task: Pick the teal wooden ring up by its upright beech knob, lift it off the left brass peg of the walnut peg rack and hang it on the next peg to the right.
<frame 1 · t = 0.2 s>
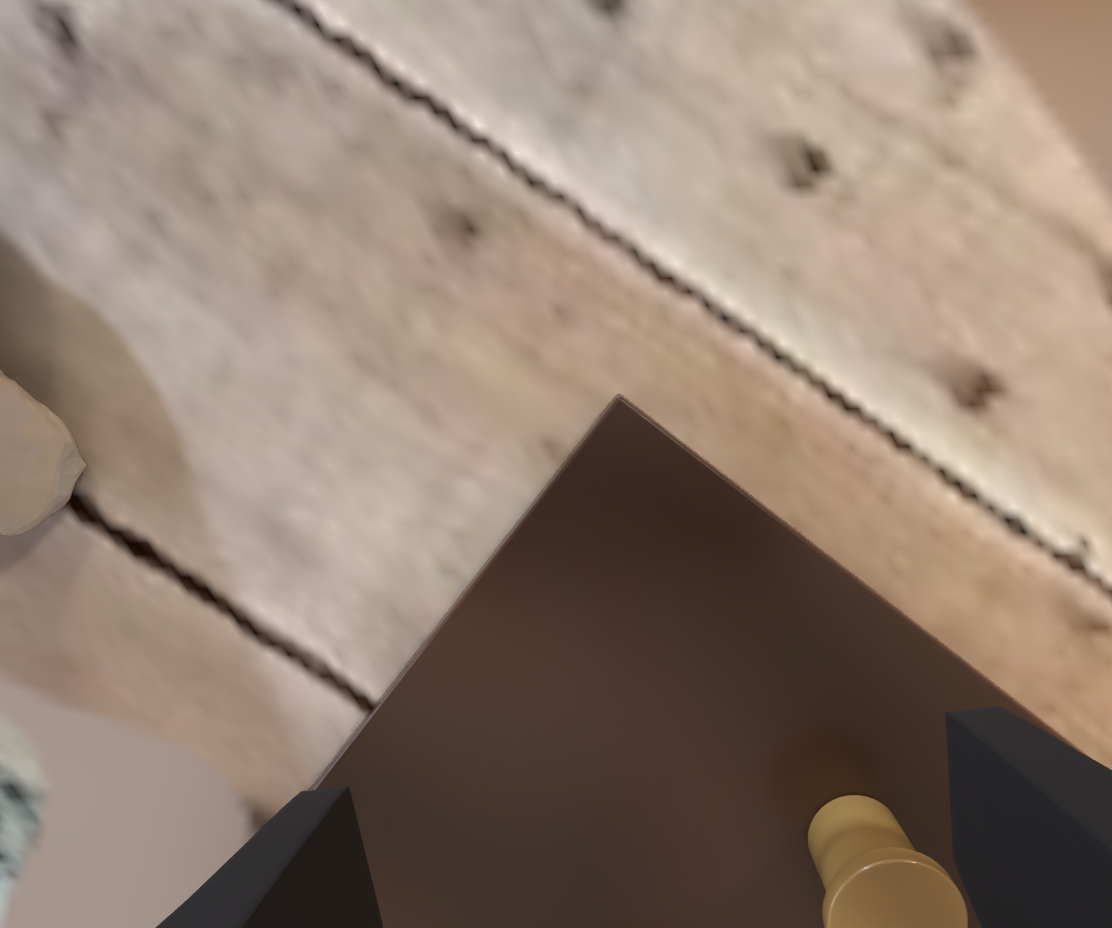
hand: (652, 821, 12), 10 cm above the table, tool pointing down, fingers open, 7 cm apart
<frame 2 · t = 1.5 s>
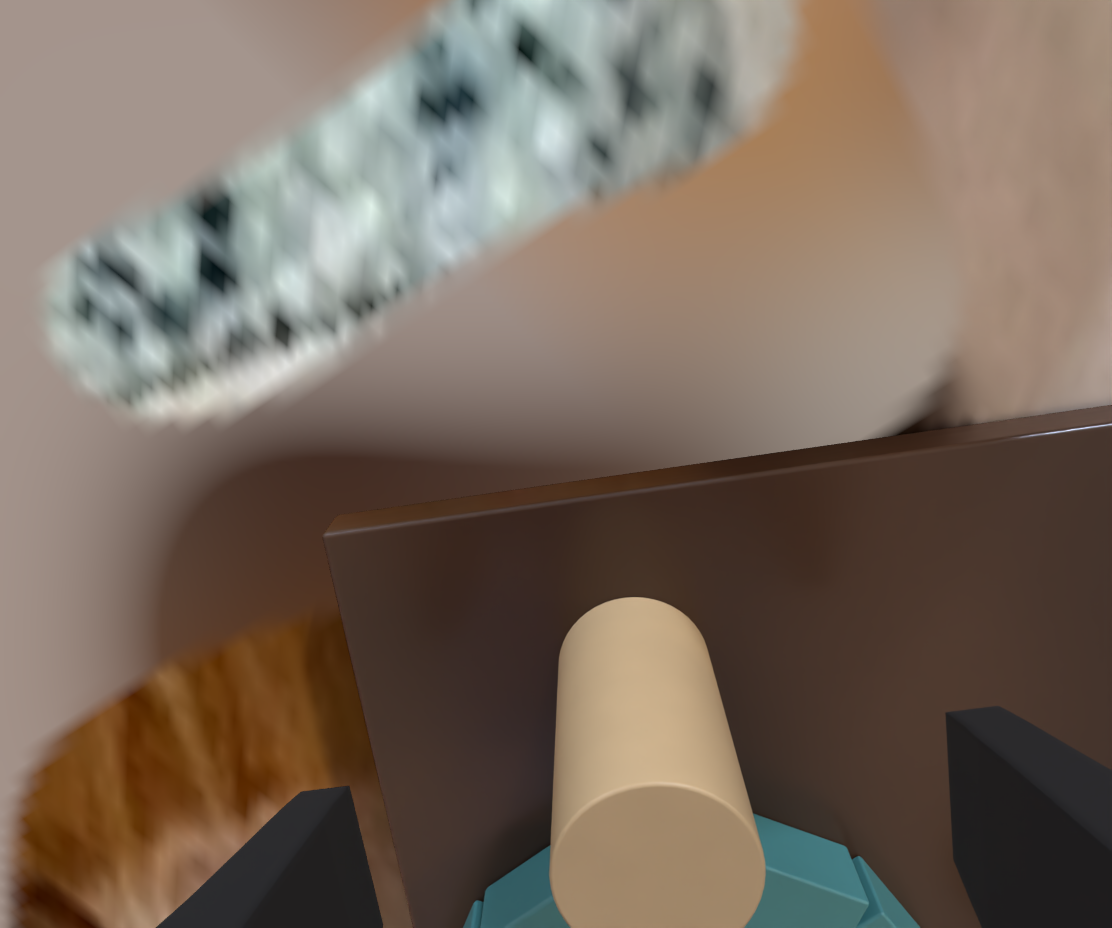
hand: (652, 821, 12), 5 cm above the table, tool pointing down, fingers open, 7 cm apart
rack: (1056, 820, 17), on the table
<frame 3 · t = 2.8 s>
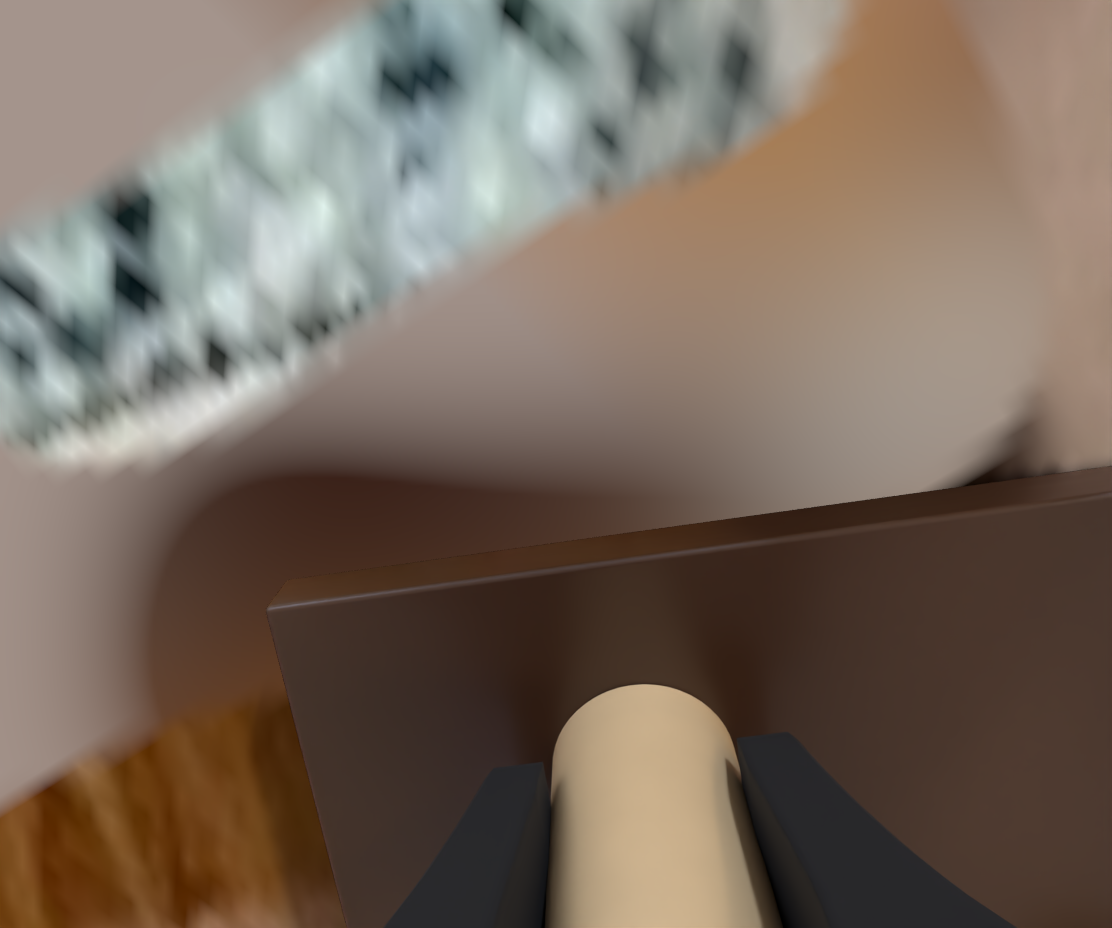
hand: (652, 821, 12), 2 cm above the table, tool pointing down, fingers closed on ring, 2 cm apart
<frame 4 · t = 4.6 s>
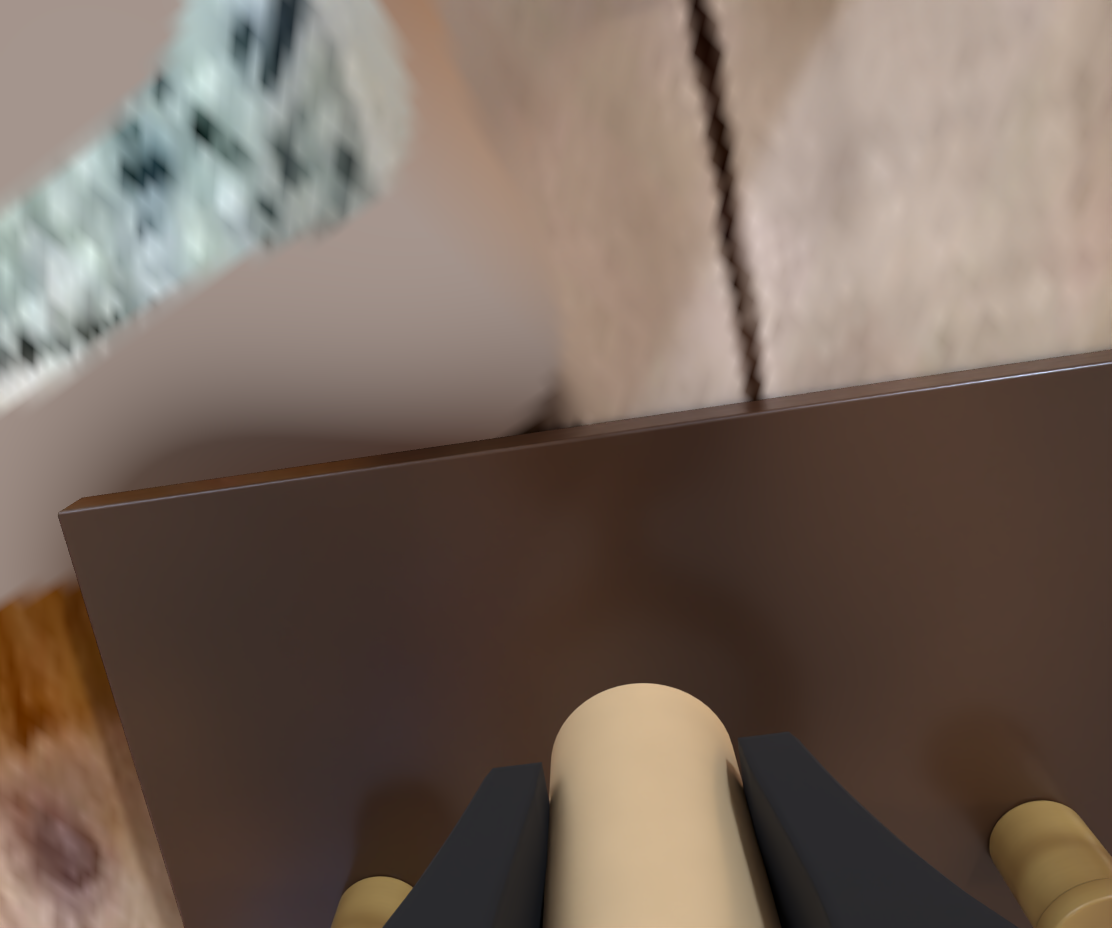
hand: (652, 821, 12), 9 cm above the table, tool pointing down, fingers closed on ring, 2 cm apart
rack: (684, 749, 21), on the table
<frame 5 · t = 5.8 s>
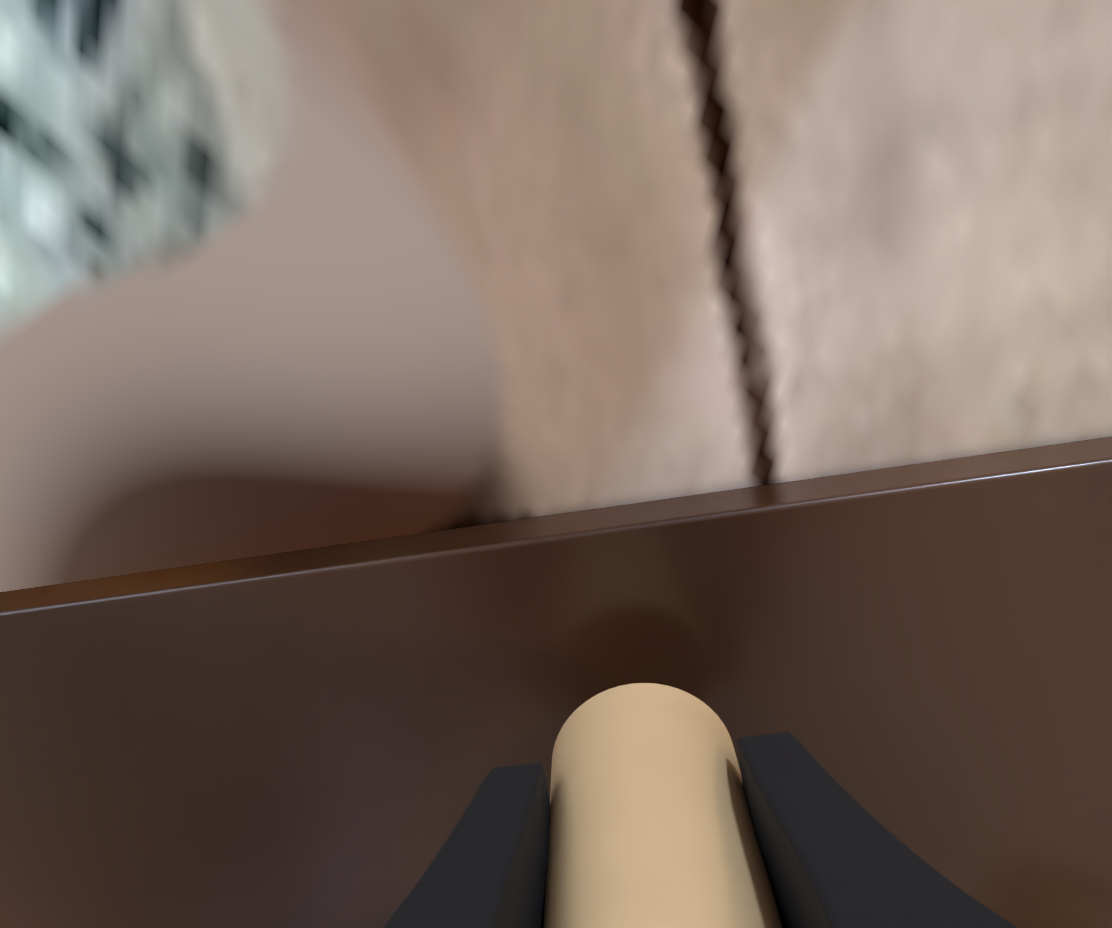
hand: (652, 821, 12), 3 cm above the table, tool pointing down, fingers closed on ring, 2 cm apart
when the fingers open (2 cm above the table, at t = 6.4 s): ring stays where it is, resting on rack.
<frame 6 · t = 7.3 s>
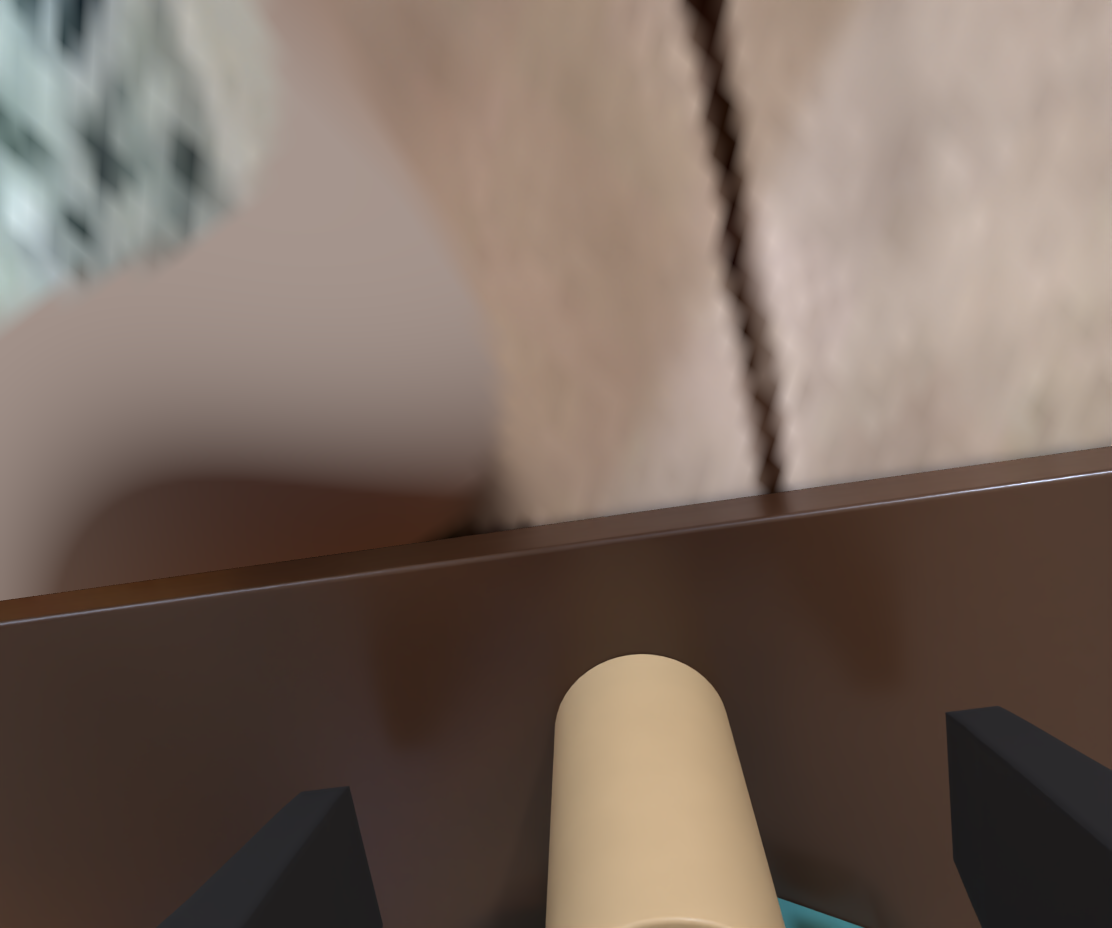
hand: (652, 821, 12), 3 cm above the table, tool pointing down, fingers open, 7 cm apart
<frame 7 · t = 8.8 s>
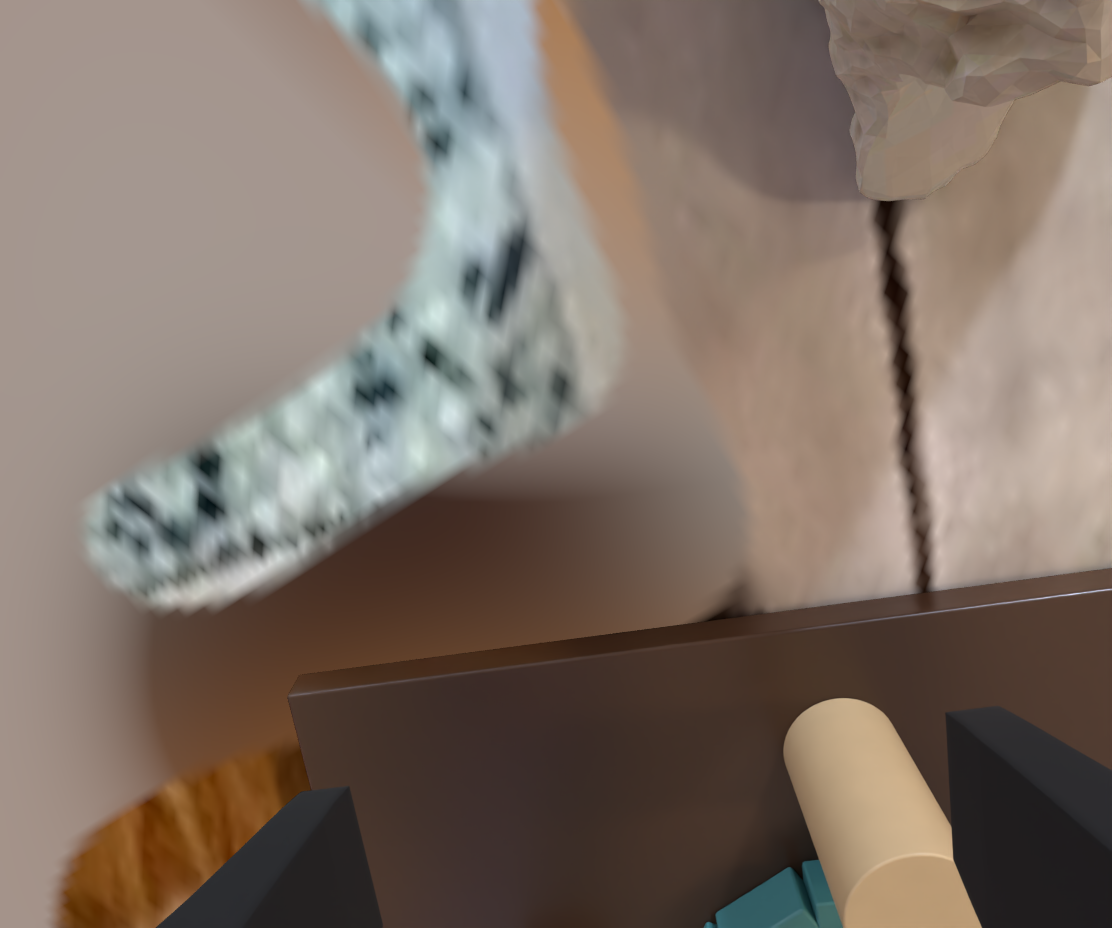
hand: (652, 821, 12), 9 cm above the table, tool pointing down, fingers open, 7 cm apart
rack: (844, 895, 23), on the table
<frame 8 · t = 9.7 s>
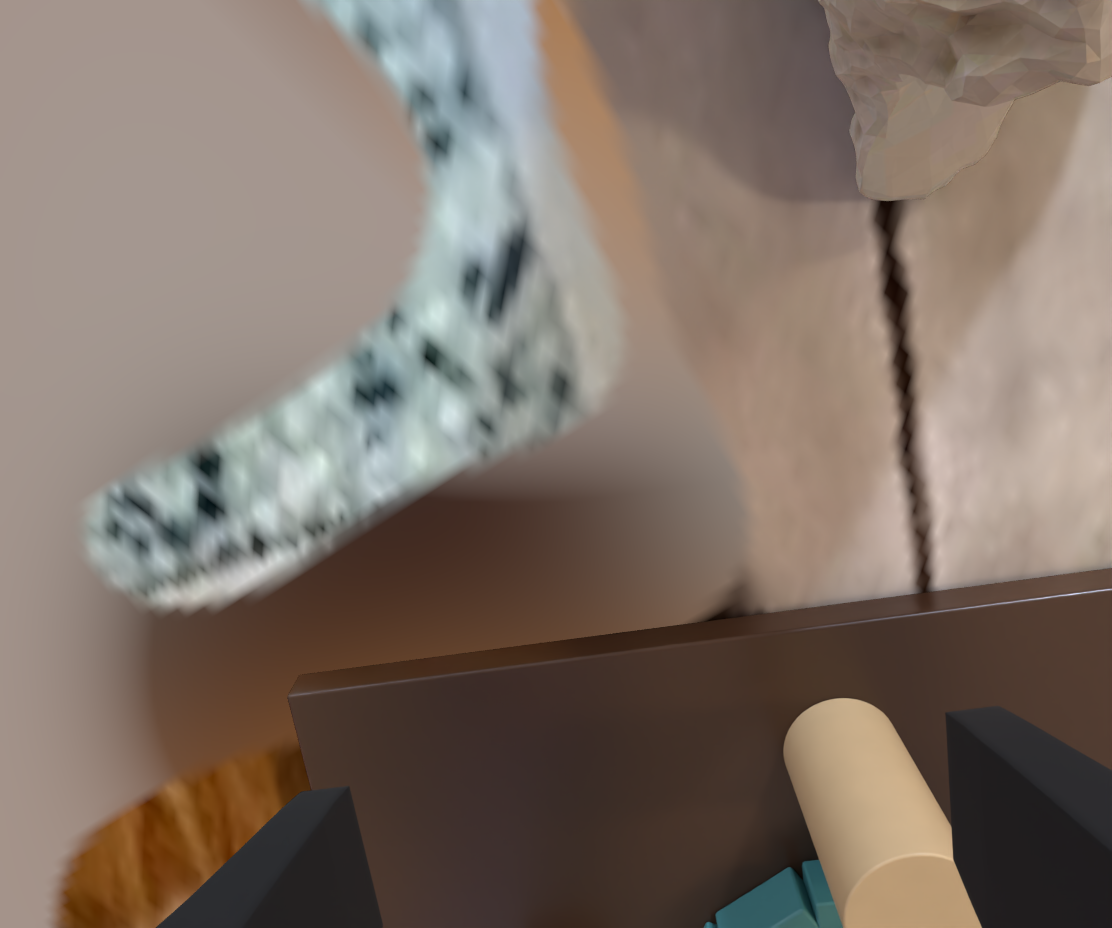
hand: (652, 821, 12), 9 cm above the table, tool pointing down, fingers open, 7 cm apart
rack: (844, 895, 23), on the table
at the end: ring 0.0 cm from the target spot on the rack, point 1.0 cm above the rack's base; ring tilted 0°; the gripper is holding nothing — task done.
